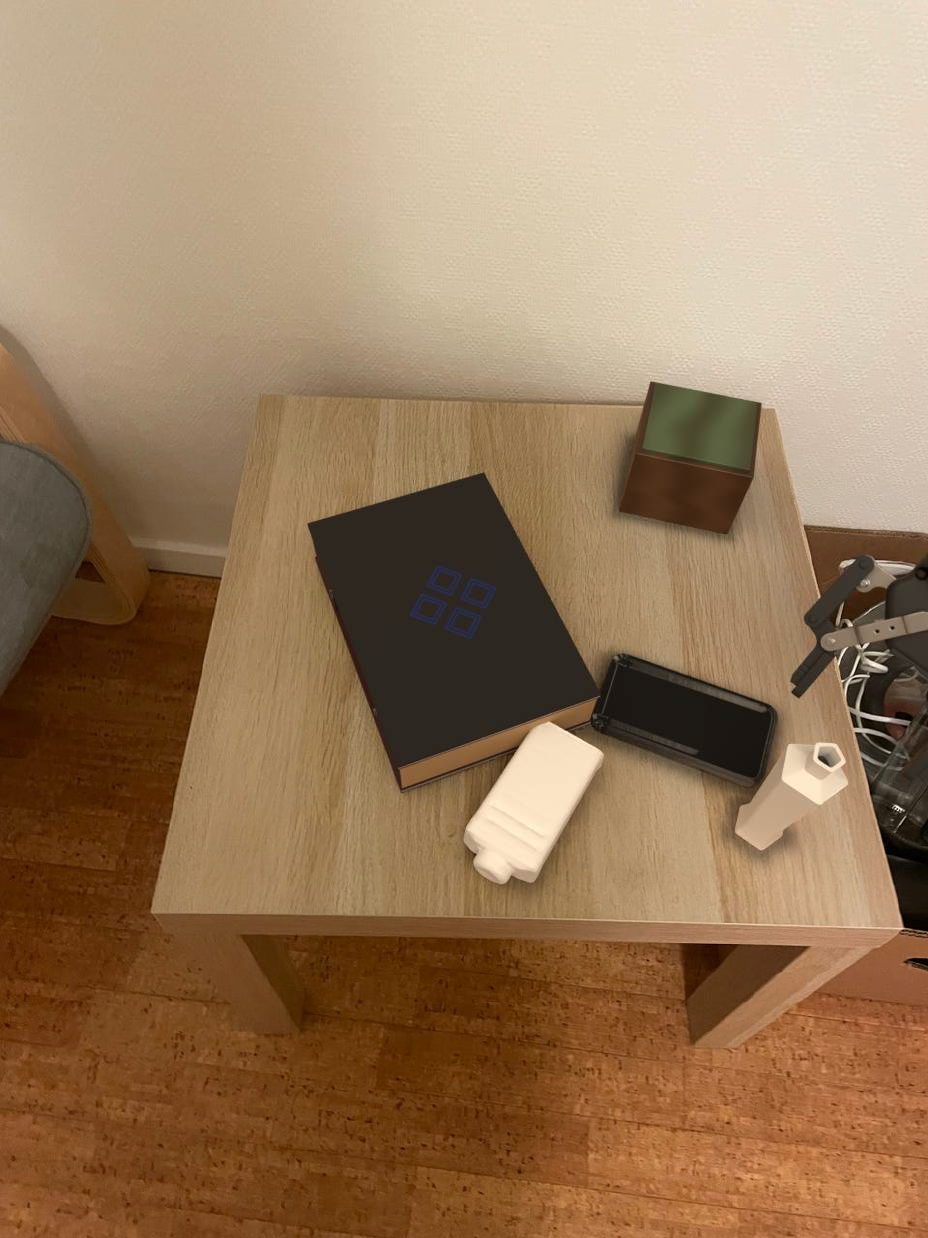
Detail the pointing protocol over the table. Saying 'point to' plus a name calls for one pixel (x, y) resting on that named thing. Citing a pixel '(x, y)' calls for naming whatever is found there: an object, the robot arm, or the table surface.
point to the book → (449, 629)
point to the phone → (686, 719)
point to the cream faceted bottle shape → (791, 791)
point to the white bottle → (531, 804)
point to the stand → (692, 457)
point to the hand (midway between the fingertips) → (848, 734)
